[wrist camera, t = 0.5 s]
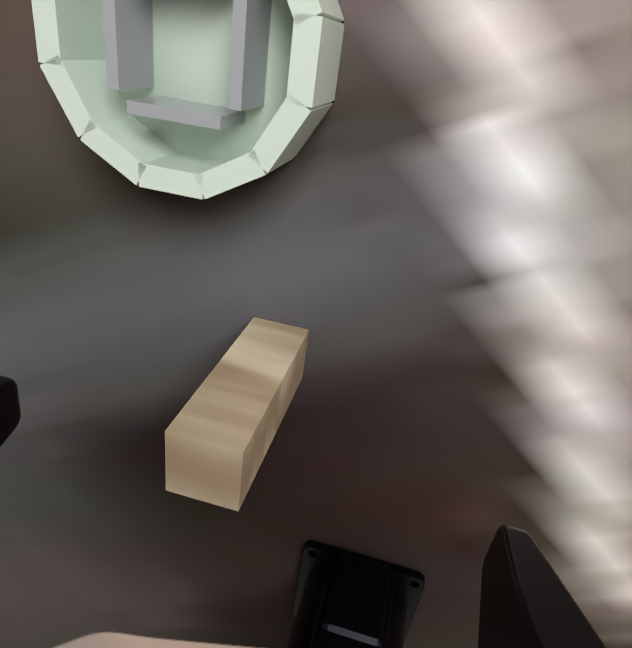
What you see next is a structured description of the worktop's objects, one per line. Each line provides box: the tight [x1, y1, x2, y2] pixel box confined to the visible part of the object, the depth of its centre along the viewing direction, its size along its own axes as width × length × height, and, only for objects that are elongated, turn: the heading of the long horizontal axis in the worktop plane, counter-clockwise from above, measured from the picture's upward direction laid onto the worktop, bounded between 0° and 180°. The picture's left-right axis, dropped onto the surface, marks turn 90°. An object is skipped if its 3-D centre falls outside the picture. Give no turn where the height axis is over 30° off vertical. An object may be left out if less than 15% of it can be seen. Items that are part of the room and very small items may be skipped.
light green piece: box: [32, 0, 345, 199], centre depth 16 cm, size 9×9×3 cm
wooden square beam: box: [165, 317, 309, 511], centre depth 19 cm, size 2×2×8 cm
